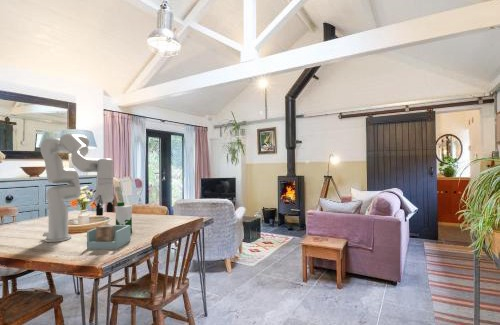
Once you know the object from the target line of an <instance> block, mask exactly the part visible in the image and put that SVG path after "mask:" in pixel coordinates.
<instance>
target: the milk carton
mask: <svg viewBox="0 0 500 325" xmlns="http://www.w3.org/2000/svg"><path fill="white" fill-rule="evenodd" d="M133 206H134V205H133V204H132V205H131V204H130V205H129V204H125V202H121V201H120V202H119V201H118V202H117V204H116V205H115V206H113V209H114V213H115V225H131V234H133V219H132V218H133V208H134V207H133Z"/></svg>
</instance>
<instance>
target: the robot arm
mask: <svg viewBox="0 0 500 325" xmlns="http://www.w3.org/2000/svg"><path fill="white" fill-rule="evenodd" d="M89 145H90V140H89V138H88V137H87V136H85V135H84V134H75V133H65V134H62V136H60V137H47V138H44V139H43V140H42V141H41V143H40V147H39V148H40V154H41V157H42V158H43V160H44V164H45V165H44V166H45V172H46V177H47V181H48V183H49V184H52V185H54V186H51V187H49V188H47V190H46V194H45V195H46V200H47V205H48V209H47V211H48V213H47V214H48V221H47V222H48V223H47V224H48V232H46V231H45V232H43V233H42V237H46V238H45V239H44V241H45V242H46V243H60V242H64V241H68V240H70V239H72V235H70V234H69V207H68V205H67V204H66V202H70V201H76V200H78V199H79V198H80V197H81V194H82V191H81V184H80V177H79V173H78V171H80V172H83V173H96V179H97V180H96V187H95V192H94V193H95V194H94V196H95V197H94V206H95V208H96V211H95V212H96V214H95V215H96V216H97V217H99V216H101V217H102V216H103V215H104V207H103V206H104V204H106V212H107V213H113V212H114V202H115V195H114V160H113V159H112V158H95V157H93V158H92V157H85V156H87V154H88V153H89ZM57 153H64V154H68V153H69V154H71V158H70V159H71V163H72V165H73V166H74V167H75V168H76V169H77V170H78V171H77V170H76V169H75V168H73V167H64V165H63V164H64V162H63V159H62V158H61V156H59V155H58V154H57ZM59 184H61V185H59ZM62 184H66V185H62Z"/></svg>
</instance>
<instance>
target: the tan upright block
mask: <svg viewBox="0 0 500 325" xmlns="http://www.w3.org/2000/svg"><path fill="white" fill-rule="evenodd" d="M95 228H96V242H114V226H102V225H98V226H96V227H95Z"/></svg>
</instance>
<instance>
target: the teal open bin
mask: <svg viewBox="0 0 500 325" xmlns="http://www.w3.org/2000/svg"><path fill="white" fill-rule="evenodd" d="M101 226H114V242H96V227H95V228H92V229H90V230H87V231H86V249H87V250H117V249H119V248H121V247H123V246H124V245H126V244H127V243H130V242H131V234H132V233H131V225H116V224H115V225H113V224H105V225H104V224H103V225H101Z"/></svg>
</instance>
